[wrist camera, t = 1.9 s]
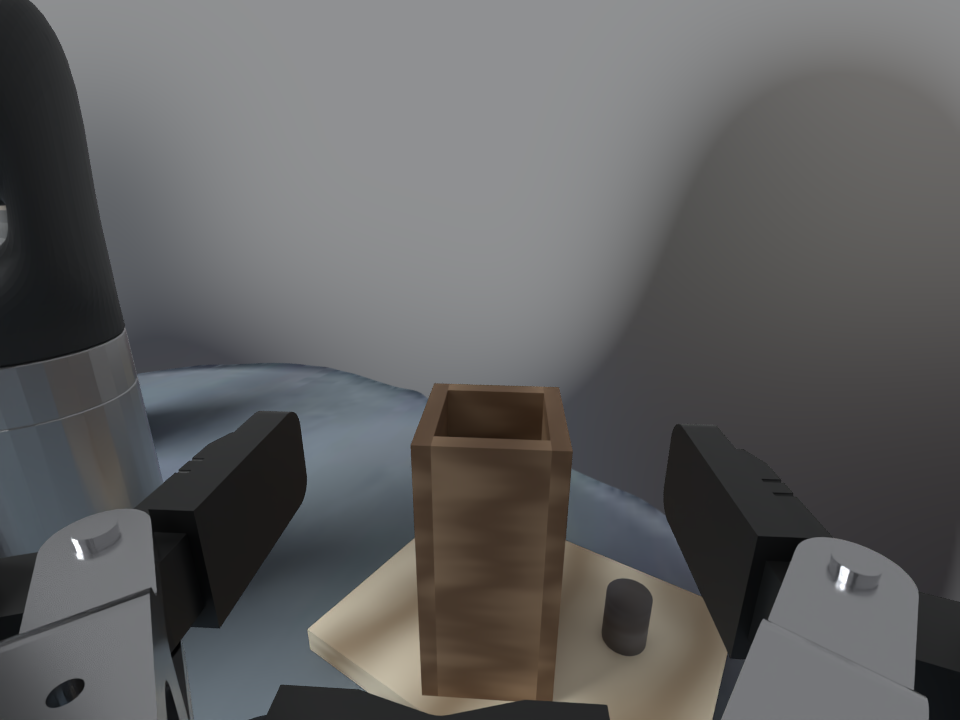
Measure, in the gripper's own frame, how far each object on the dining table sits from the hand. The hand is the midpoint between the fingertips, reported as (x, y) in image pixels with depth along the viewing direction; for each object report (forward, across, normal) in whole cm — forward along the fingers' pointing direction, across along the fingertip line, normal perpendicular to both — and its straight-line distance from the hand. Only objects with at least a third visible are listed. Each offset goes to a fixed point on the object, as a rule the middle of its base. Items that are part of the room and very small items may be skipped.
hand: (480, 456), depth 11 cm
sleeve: (+11, 0, +18) cm, 22 cm away
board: (+13, -2, +20) cm, 24 cm away
